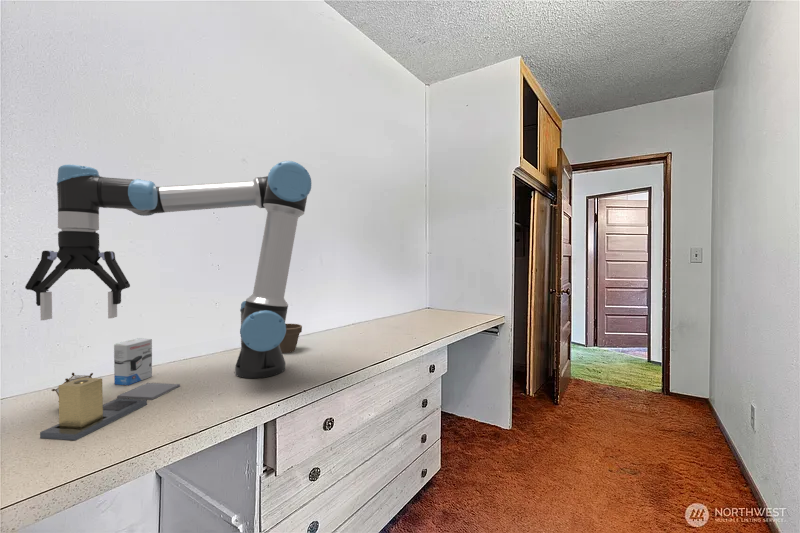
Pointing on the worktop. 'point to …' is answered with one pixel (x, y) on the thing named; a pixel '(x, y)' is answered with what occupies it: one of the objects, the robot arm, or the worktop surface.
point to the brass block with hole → (80, 403)
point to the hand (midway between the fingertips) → (80, 318)
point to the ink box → (132, 361)
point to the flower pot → (290, 338)
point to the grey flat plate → (110, 414)
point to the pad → (148, 391)
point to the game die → (72, 380)
